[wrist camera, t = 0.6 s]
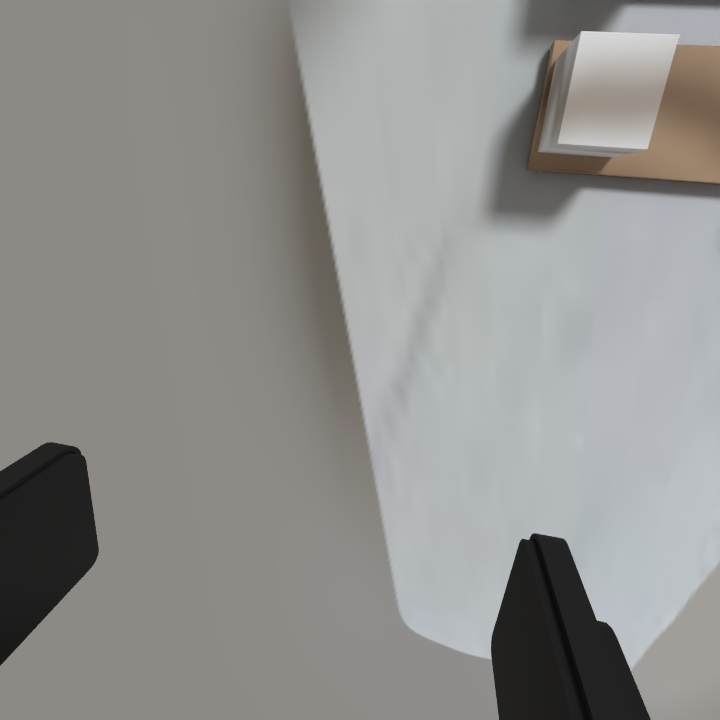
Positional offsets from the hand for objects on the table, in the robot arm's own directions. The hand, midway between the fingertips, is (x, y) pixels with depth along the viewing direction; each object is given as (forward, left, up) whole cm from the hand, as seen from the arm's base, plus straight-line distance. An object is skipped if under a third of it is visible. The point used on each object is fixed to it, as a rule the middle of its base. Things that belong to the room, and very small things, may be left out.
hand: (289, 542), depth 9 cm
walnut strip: (-13, +21, -26) cm, 36 cm away
